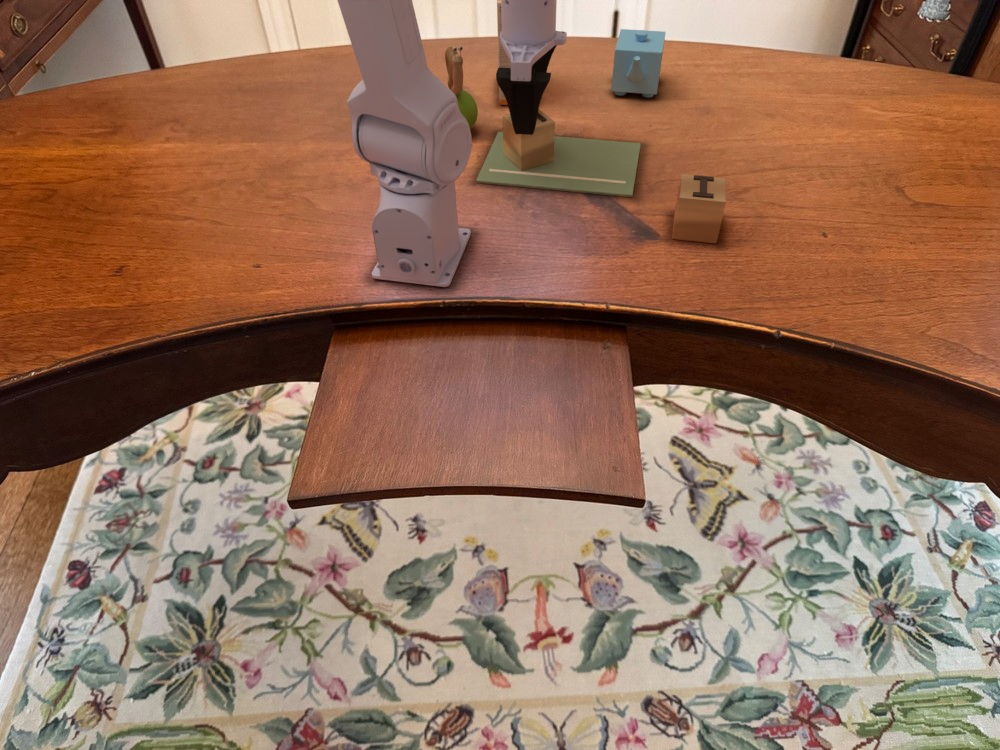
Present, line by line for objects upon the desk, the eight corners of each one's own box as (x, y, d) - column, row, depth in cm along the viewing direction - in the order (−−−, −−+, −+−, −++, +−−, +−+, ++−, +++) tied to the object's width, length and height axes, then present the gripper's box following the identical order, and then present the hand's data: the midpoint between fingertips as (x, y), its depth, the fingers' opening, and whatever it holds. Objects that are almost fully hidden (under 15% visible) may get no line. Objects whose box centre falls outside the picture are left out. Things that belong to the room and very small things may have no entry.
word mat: (632, 197, 80) (632, 194, 80) (476, 182, 83) (476, 180, 83) (640, 145, 88) (641, 142, 88) (498, 133, 91) (498, 131, 91)
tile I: (716, 243, 73) (726, 199, 70) (672, 239, 74) (679, 195, 70) (716, 219, 76) (726, 176, 73) (674, 215, 77) (681, 172, 73)
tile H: (554, 161, 85) (555, 119, 81) (521, 171, 84) (521, 129, 80) (535, 145, 88) (535, 104, 84) (503, 154, 87) (502, 113, 83)
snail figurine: (443, 149, 88) (434, 50, 80) (432, 125, 93) (423, 29, 84) (485, 142, 89) (481, 44, 81) (473, 119, 94) (467, 23, 85)
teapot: (654, 112, 94) (662, 54, 88) (607, 109, 95) (612, 51, 89) (659, 74, 102) (667, 18, 97) (617, 71, 103) (622, 16, 98)
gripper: (562, 16, 67) (557, 149, 77) (573, -34, 77) (567, 90, 87) (488, 14, 68) (492, 146, 77) (508, -35, 78) (509, 88, 87)
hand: (528, 117), depth 82 cm, fingers open, 7 cm apart
